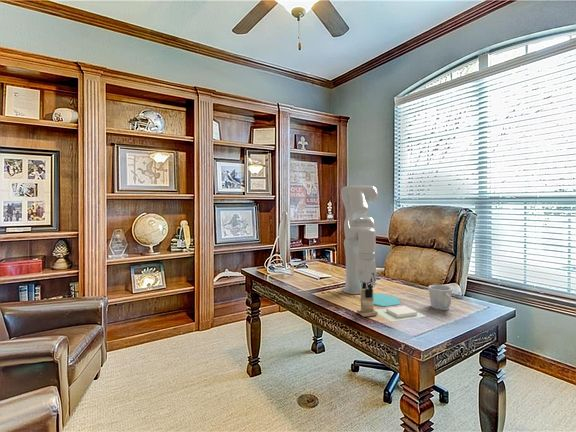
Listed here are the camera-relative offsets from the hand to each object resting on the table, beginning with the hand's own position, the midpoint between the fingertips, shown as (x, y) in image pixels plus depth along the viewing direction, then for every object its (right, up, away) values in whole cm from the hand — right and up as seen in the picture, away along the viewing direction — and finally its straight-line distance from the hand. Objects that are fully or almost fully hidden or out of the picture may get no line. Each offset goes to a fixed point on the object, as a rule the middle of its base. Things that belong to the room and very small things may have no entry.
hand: (366, 296), depth 146 cm
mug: (+37, -8, +6) cm, 39 cm away
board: (+15, -9, +1) cm, 17 cm away
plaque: (+12, -8, +20) cm, 25 cm away
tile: (+14, -7, +5) cm, 17 cm away
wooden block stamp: (0, -8, 0) cm, 8 cm away
